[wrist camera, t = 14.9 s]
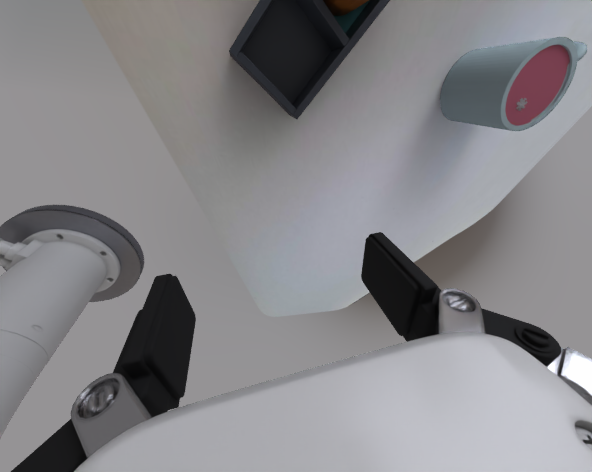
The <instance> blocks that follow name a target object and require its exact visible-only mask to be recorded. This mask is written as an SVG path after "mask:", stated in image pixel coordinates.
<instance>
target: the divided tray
mask: <svg viewBox="0 0 592 472" xmlns="http://www.w3.org/2000/svg"><path fill="white" fill-rule="evenodd" d="M389 1H390V0H369V1H367V2H366V3H364V4H362V5H361V6H359V7H358V8H356V9H354V10H353V11H351V12H350V13H348V14H346V15H343V16H334V15H333V14H332V13H331V11H330V10H329V8H328V7H327V6H326V4H325V3H324V1H323V0H260V1H259V3H258V4H257V6H256V8H255V9H254V11H253V13H252V14H251V16H250V17H249V19H248V21H247V22H246V24H245V26H244V27H243V29H242V31H241V32H240V34H239V35H238V37H237V39H236V40H235V42H234V44H233V45H232V47H231V48H230V50H229V52H230V56H231V57H232V58H233V59H234V60H235V61H236V62H237V63H238V64H239V65H240V66H241V67H242V68H243V69H244V70H245V71H246V72H247V73H248V74H249V75H250V76H251V77H252V78H253V79H254V80H255V81H256V82H257V83H258V84H259V85H260V86H261V87H262V88H263V89H264V90H265V91H266V92H267V93H268V94H269V95H270V96H271V97H272V98H273V99H274V100H275V101H276V102H277V103H278V104H279V105H280V106H281V107H282V108H283V109H284V110H285V111H286V112H287V113H288V114H289V115H291V116H292V117H294V118H296V119H298V118H299V116H300V115H301V114H302V112H303V111H304V110H305V109H306V107H307V106H308V105H309V103H310V102H311V101H312V100H313V98H314V97H315V96H316V94H317V93H318V92H319V91H320V89H321V88H322V87H323V85H324V84H325V83H326V82H327V80H328V79H329V78H330V76H331V75H332V74H333V73H334V71H335V70H336V69H337V67H338V66H339V65H340V64H341V62H342V61H343V60H344V58H345V57H346V56H347V55H348V53H349V52H350V51H351V49H352V48H353V47H354V46H355V44H356V43H357V42H358V40H359V39H360V38H361V37H362V35H363V34H364V33H365V32H366V30H367V29H368V28H369V26H370V25H371V24H372V23H373V21H374V20H375V19H376V17H377V16H378V15H379V14H380V12H381V11H382V10H383V8H384V7H385V6H386V5H387V3H388V2H389Z"/></svg>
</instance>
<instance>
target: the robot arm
mask: <svg viewBox="0 0 592 472" xmlns="http://www.w3.org/2000/svg"><path fill="white" fill-rule="evenodd" d="M0 254H2V255H5V256H2V255H0V266H3V267H5V270H7V271H6V272H5V273H4V274H3V275H1V276H0V438H1V436H2V434H3V432H4V431H5V429H6V427H7V425H8V423H9V422H10V420H11V418H12V416H13V415H14V413H15V411H16V410H17V408H18V406H19V405H20V403H21V401H22V400H23V398H24V397H25V395H26V394H27V392H28V391H29V389H30V388H31V386H32V385H33V383H34V381H35V380H36V379H37V377H38V376H39V374H40V372H41V371H42V370H43V368H44V367H45V365H46V364H47V363H48V361H49V360H50V358H51V357H52V355H53V354H54V352H55V351H56V349H57V348H58V346H59V344H60V343H61V342H62V341H63V339H64V337H65V336H66V335H67V333H68V332H69V330H70V329H71V327H72V326H73V324H74V323H75V321H76V320H77V319H78V317H79V315H80V314H81V313H82V311H83V310H84V308H85V307H86V305H87V304H88V302H89V301H90V299H91V298H92V296H93V295H94V294H95V293H97V292H100V291H103V290H106V289H107V288H109V287H110V286H112V285H113V284H114V283H115V281H116V280H117V278H118V276H119V274H120V268H121V266H120V262H119V260H118V258H117V256H116V254H115V253H114V252H113V251H112V250H111V249H110V248H109V247H108V246H107V245H106V244H104V243H103V242H101V241H100V240H98V239H96V238H94V237H92V236H90V235H87V234H84V233H81V232H77V231H72V230H65V229H49V230H44V231H39V232H37V233H34V234H32V235H31V236H29V237H28V238H26V239H25V240H24V241H23V242H21V243H20V242H17V243H16V244H13V243H10V242H7V241H4V240H3V239H1V238H0ZM361 277H362V281H363V283H364V284H365V286H366V287H367V289H368V290H369V292H370V293H371V295H372V296H373V297H374V299H375V300H376V302H377V303H378V305H379V306H380V307H381V309H382V311H383V312H384V314H385V315H386V316H387V318H388V319H389V321H390V322H391V324H392V325H393V327H394V328H395V330H396V331H397V333H398V334H399V335H401V336H403V337H404V338H405V340H406V341H407V342H404V343H401V344H397V345H393V346H390V347H386V348H382V349H379V350H375V351H372V352H368V353H364V354H361V355H358V356H354V357H350V358H347V359H343V360H340V361H336V362H332V363H329V364H325V365H322V366H318V367H315V368H312V369H308V370H305V371H301V372H298V373H294V374H290V375H287V376H284V377H280V378H277V379H273V380H270V381H266V382H263V383H259V384H256V385H252V386H249V387H246V388H242V389H239V390H235V391H232V392H229V393H225V394H221V395H218V396H215V397H212V398H208V399H205V400H202V401H199V402H196V403H192V404H189V405H186V406H183V407H179V408H177V407H178V406H179V400H180V398H181V397H183V396H184V393H185V386H186V381H187V374H188V367H189V361H190V354H191V347H192V341H193V334H194V328H195V321H196V318H195V314H194V312H193V309H192V307H191V305H190V303H189V301H188V299H187V297H186V295H185V293H184V291H183V289H182V286H181V284H180V282H179V280H178V278H177V277H176V276H172V275H171V274H166V275H161V276H156V277H155V279H154V282H153V284H152V287H151V289H150V292H149V295H148V297H147V299H146V302H145V304H144V307H143V309H142V310H140V311H139V312H138V314H137V316H136V318H135V321H134V323H133V326H132V328H131V330H130V333H129V335H128V338H127V340H126V342H125V345H124V347H123V350H122V352H121V354H120V357H119V359H118V362H117V364H116V367H115V369H114V372H113V373H111V374H107V375H104V376H102V377H100V378H98V379H96V380H95V381H93V382H92V383H91V384H90V385H88V386H87V387H86V388H85V389H84V390H83V391H82V393H81V394H80V395H79V396H78V397H77V399H76V401H75V402H74V404H73V407H72V410H71V419H70V420H69V421H68V422H67V423H66V424H65V425H63V426H62V427H61V428H60V429H59V430H58V431H57V432H56V433H54V434H53V435H52V436H51V437H50V438H49V439H48V440H47V441H45V442H44V443H43V444H42V445H41V446H40V447H38V448H37V449H36V450H35V451H34V452H33V453H32V454H30V455H29V456H28V457H27V458H26V459H25V460H24V461H23V462H21V463H20V464H19V465H18V466H17V467H16V468H14V469H13V470H12V471H11V472H592V359H591V358H589V357H587V356H585V355H582V354H581V353H579V352H577V351H575V350H572V349H570V348H568V347H567V348H566V349H563V348H561V347H560V346H559V343H558V342H557V341H556V340H555V339H554V338H553V337H552V336H551V335H550V334H548V333H547V332H546V331H544V330H542V329H541V328H539V327H536V326H534V325H532V324H529V323H525V322H522V321H519V320H516V319H513V318H510V317H507V316H504V315H500V314H497V313H494V312H491V311H488V310H485V309H482V308H481V306H480V304H479V302H478V301H477V300H476V299H475V298H474V297H473V296H472V295H470V294H468V293H467V292H465V291H462V290H459V289H454V288H447V289H444V290H442V291H441V290H440V289H439V288H438V286H437V285H436V284H435V283H434V282H433V281H432V280H431V279H430V278H429V277H428V276H427V275H426V274H425V273H424V272H423V271H422V270H421V269H420V268H419V267H417V266H416V265H415V264H414V263H413V262H412V261H411V260H410V259H409V258H408V257H407V256H406V255H405V254H404V253H403V252H402V251H401V250H400V249H399V248H398V247H397V246H395V245H394V244H393V243H392V242H391V241H390V240H389V239H388V238H387V237H386V236H385V235H384V234H383V233H381V232H379V233H374V234H370V235H369V237H368V238H366V243H365V251H364V259H363V267H362V275H361ZM415 339H416V340H415ZM174 408H177V409H174ZM170 409H174V410H171V411H168V410H170ZM167 411H168V412H167Z"/></svg>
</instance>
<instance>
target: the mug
mask: <svg viewBox="0 0 592 472" xmlns="http://www.w3.org/2000/svg"><path fill="white" fill-rule="evenodd" d="M586 52H587V45H586V44H584V43H583V42H576V41H574V42H573V41H572V40H571V39H569V38H566V37H557V38H550V39H543V40H536V41H529V42H522V43H515V44H509V45H502V46H495V47H488V48H481V49H475V50H472V51H470V52H468V53H466V54H465V55H464V56H462V57H461V58H460V59H459V60H458V61H457V62H456V63H455V64H454V66H453V67H452V68H451V70H450V71H449V73H448V75H447V77H446V79H445V81H444V83H443V86H442V90H441V95H440V105H441V110H442V112H443V114H444V115H445V117H446V118H448V119H449V120H452V121H458V122H464V123H469V124H475V125H481V126H487V127H493V128H499V129H505V130H511V131H522V130H525V129H528V128H530V127H532V126H534V125H535V124H537V123H538V122H540V121H541V120H542V119H544V118H545V117H546V116H547V115H548V114H549V113H550V112H551V111H552V110H553V109H554V108H555V107H556V105H557V104H558V103H559V101H560V100H561V99H562V97H563V96H564V94H565V93H566V91H567V89H568V87H569V85H570V83H571V81H572V79H573V76H574V73H575V70H576V66H577V62H578V61H579V60H580V59H581V58H582V57H583V56H584V55H585V54H586Z"/></svg>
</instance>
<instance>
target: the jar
mask: <svg viewBox="0 0 592 472" xmlns="http://www.w3.org/2000/svg"><path fill="white" fill-rule="evenodd" d="M323 1H324V3H325V4H326V6H327V7H328V8H329V10H330V11H331V13H332V14H333V15H334V16H343V15H346V14H348V13H350V12H351V11H353V10H354V9H356V8H358V7H359V6H361V5H362V4H364V3H366V2H367V1H369V0H323Z"/></svg>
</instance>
